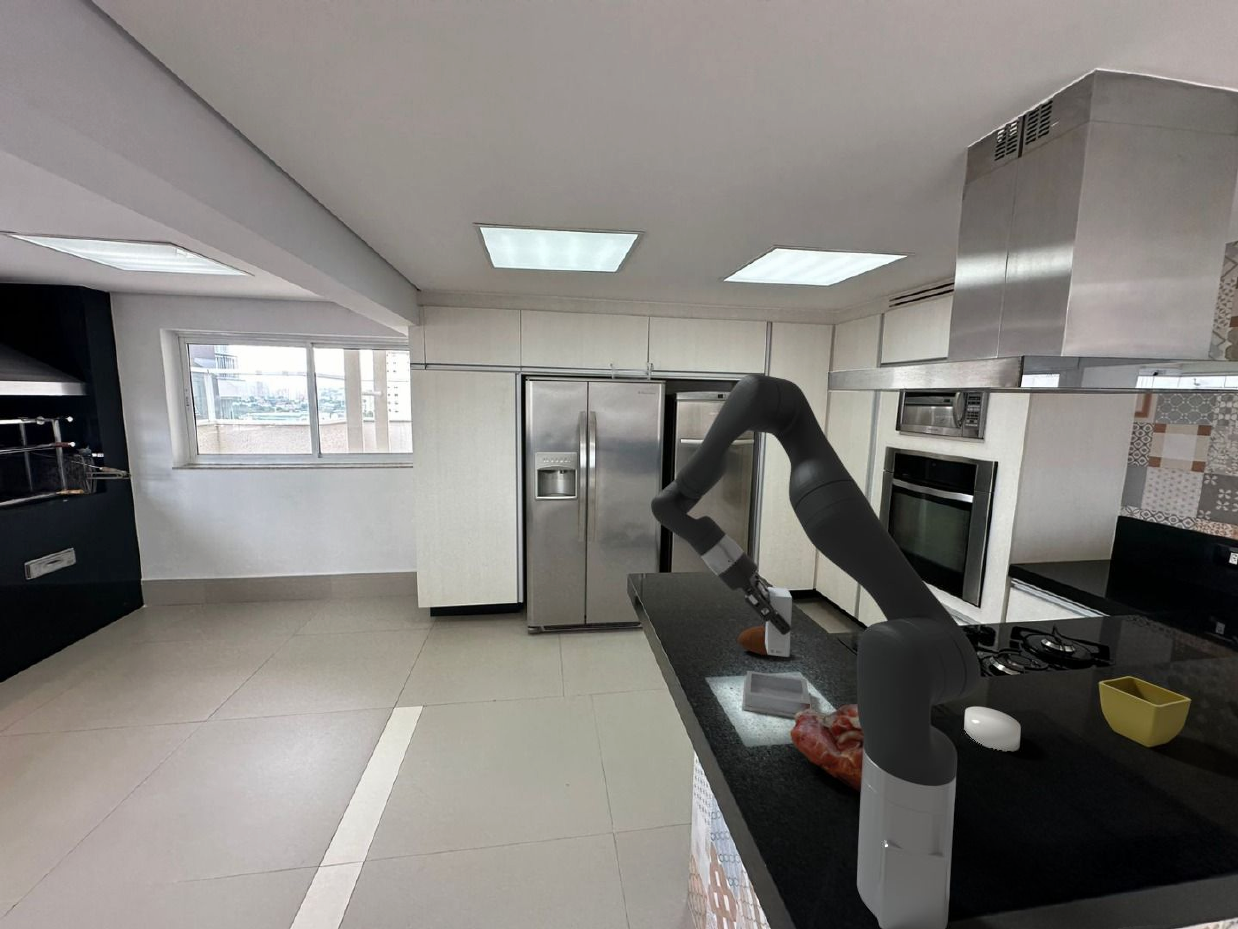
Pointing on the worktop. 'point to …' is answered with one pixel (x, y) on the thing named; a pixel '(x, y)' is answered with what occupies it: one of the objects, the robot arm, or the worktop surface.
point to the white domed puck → (992, 728)
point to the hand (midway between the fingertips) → (786, 625)
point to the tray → (775, 694)
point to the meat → (832, 742)
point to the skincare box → (773, 637)
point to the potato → (754, 640)
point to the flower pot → (1143, 710)
